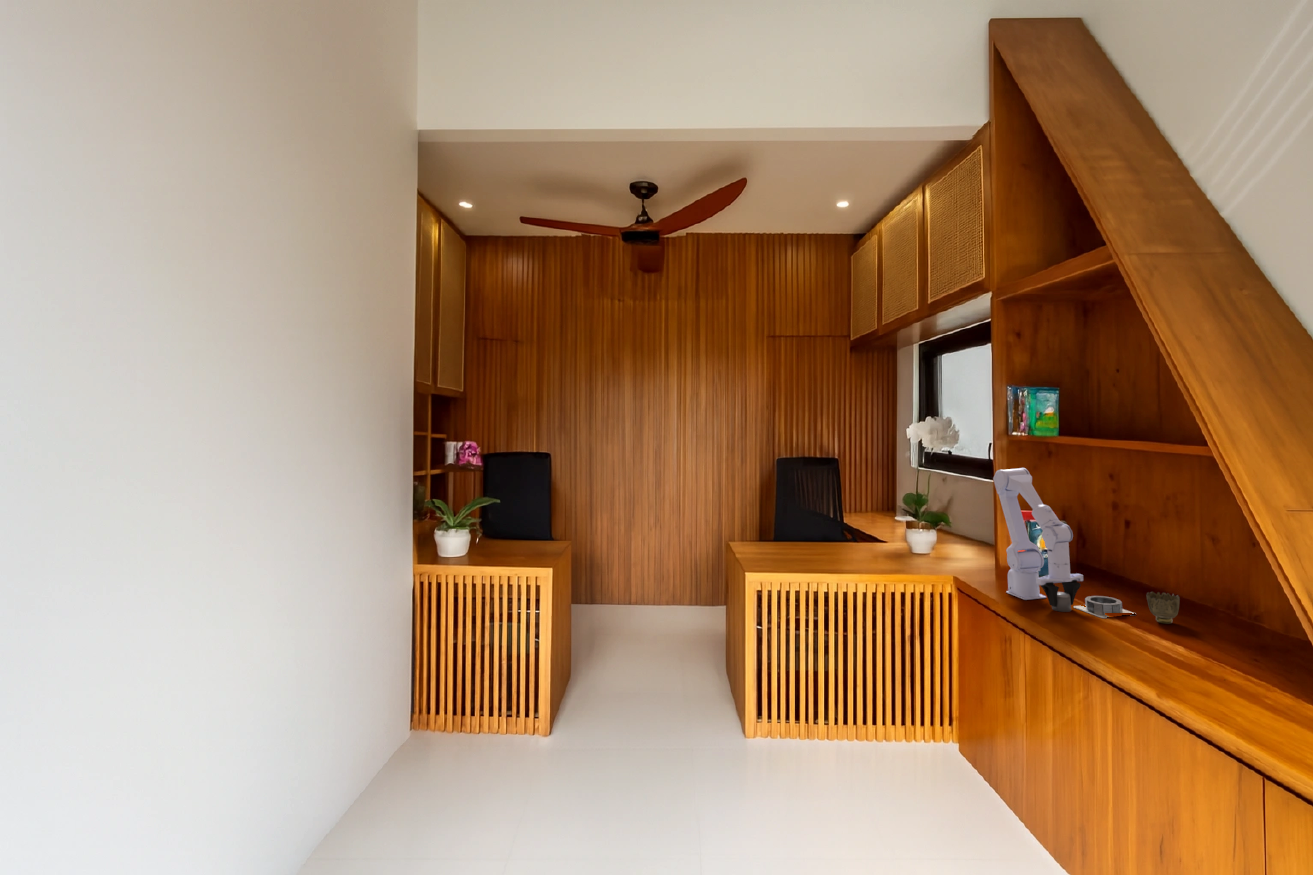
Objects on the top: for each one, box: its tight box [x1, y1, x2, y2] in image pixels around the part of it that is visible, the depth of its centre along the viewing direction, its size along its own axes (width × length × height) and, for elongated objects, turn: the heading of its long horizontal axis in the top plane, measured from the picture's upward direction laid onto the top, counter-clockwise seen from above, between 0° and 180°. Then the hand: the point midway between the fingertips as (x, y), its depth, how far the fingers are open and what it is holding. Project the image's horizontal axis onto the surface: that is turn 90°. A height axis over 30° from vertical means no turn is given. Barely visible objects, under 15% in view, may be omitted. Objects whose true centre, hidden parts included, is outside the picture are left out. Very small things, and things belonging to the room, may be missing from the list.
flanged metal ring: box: [1072, 595, 1137, 619], centre depth 182 cm, size 11×11×3 cm
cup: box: [1145, 591, 1181, 625], centre depth 170 cm, size 8×7×8 cm
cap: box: [1051, 591, 1072, 613], centre depth 186 cm, size 5×5×5 cm
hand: (1061, 604), depth 186 cm, fingers closed on cap, 5 cm apart
